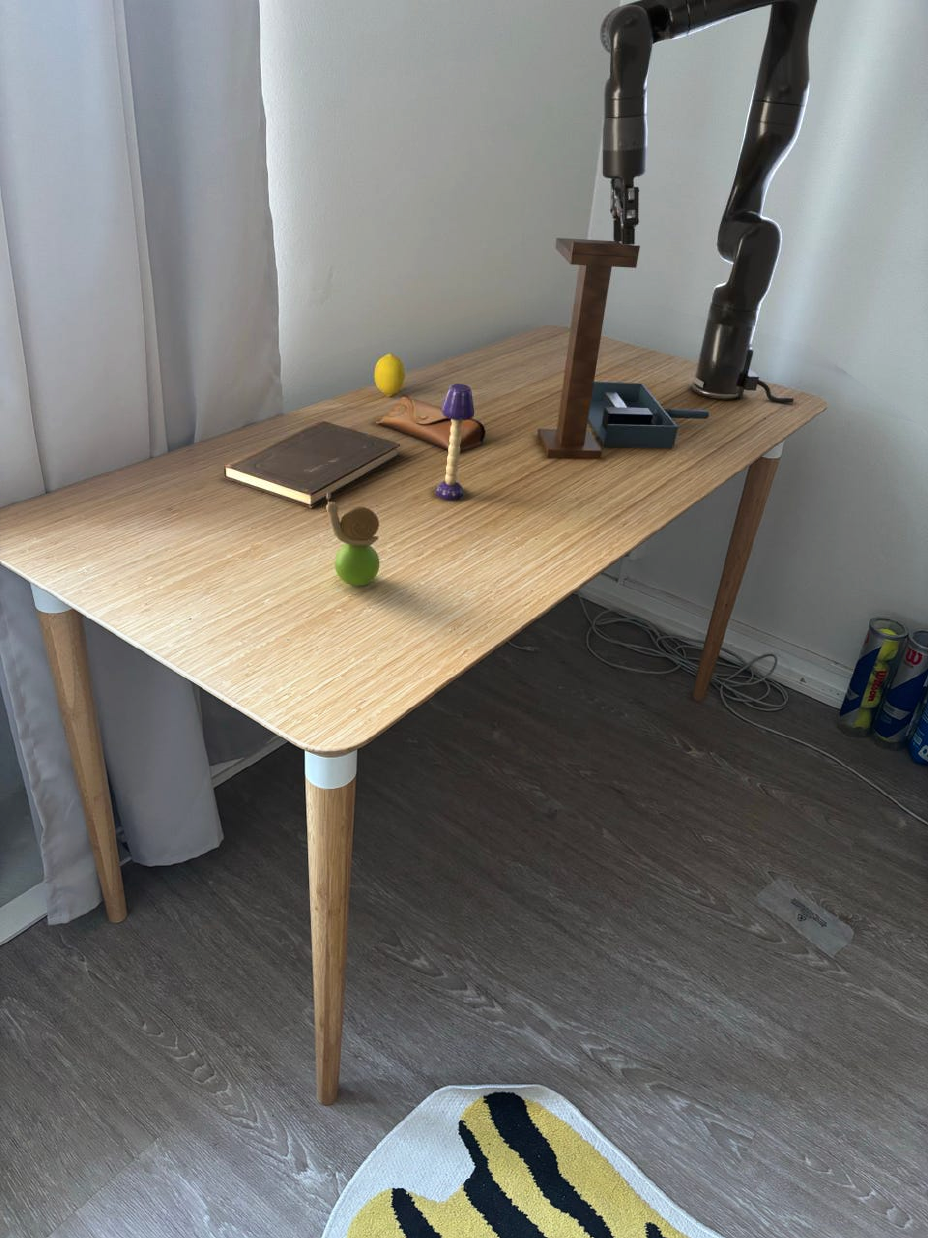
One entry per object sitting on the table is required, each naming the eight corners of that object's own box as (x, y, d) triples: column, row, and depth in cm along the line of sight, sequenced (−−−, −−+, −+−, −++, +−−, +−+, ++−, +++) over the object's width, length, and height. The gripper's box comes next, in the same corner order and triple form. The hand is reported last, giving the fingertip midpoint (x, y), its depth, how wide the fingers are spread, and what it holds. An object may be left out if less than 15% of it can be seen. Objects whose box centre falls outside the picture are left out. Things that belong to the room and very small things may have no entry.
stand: (588, 434, 162) (620, 230, 144) (603, 460, 153) (640, 245, 134) (532, 433, 160) (557, 226, 142) (544, 459, 151) (573, 241, 133)
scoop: (604, 446, 158) (607, 424, 156) (575, 400, 176) (578, 380, 174) (727, 449, 161) (732, 428, 159) (687, 404, 179) (691, 384, 177)
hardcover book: (399, 457, 148) (400, 443, 146) (311, 508, 130) (311, 493, 129) (318, 432, 154) (318, 419, 152) (223, 478, 136) (222, 464, 135)
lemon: (406, 392, 172) (407, 350, 168) (401, 403, 168) (403, 359, 163) (376, 389, 173) (377, 347, 168) (371, 400, 168) (372, 356, 164)
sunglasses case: (371, 422, 158) (385, 384, 157) (393, 432, 164) (407, 396, 163) (456, 452, 149) (471, 413, 149) (476, 462, 156) (490, 425, 155)
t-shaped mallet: (587, 401, 175) (590, 385, 173) (628, 403, 176) (631, 386, 174) (606, 430, 163) (609, 413, 161) (649, 431, 164) (653, 414, 162)
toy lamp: (471, 492, 139) (480, 384, 130) (461, 504, 135) (470, 394, 126) (441, 485, 140) (448, 378, 131) (430, 498, 136) (437, 388, 127)
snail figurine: (327, 570, 117) (326, 483, 110) (378, 571, 117) (381, 485, 111) (325, 593, 112) (325, 504, 105) (379, 594, 113) (381, 505, 106)
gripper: (655, 147, 152) (652, 251, 161) (638, 139, 164) (636, 236, 173) (609, 151, 152) (609, 255, 161) (596, 142, 164) (596, 239, 173)
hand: (623, 245), depth 167 cm, fingers open, 8 cm apart
